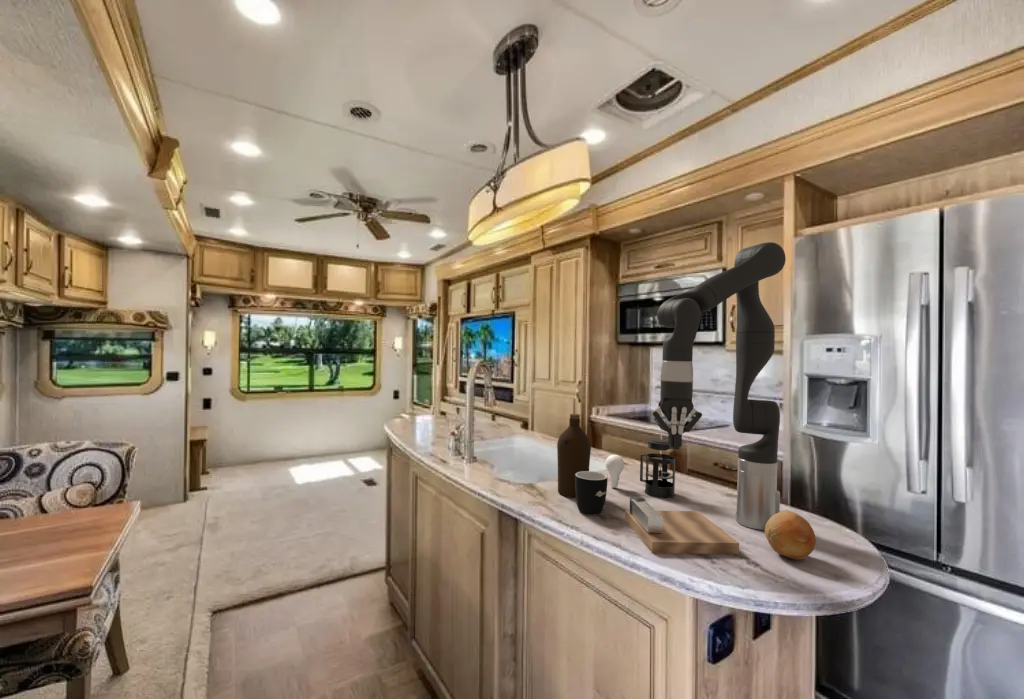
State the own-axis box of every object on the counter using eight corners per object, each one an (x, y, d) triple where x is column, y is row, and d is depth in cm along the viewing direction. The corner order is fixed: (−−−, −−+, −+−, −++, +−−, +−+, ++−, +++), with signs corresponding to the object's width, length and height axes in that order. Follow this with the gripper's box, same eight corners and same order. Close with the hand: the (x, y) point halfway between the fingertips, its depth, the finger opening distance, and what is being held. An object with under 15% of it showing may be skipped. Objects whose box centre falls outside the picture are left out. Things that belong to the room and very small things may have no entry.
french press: (681, 493, 143) (683, 422, 143) (671, 501, 135) (673, 426, 135) (645, 486, 150) (647, 418, 150) (634, 492, 142) (637, 421, 142)
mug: (596, 519, 118) (597, 481, 118) (568, 511, 124) (569, 475, 124) (617, 508, 127) (618, 473, 127) (590, 501, 133) (591, 467, 133)
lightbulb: (609, 484, 151) (610, 451, 151) (626, 487, 147) (627, 454, 147) (601, 487, 146) (602, 454, 146) (618, 492, 143) (619, 457, 143)
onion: (754, 551, 101) (755, 507, 102) (782, 544, 106) (783, 502, 106) (795, 570, 93) (797, 522, 93) (825, 562, 97) (826, 517, 97)
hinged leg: (627, 509, 118) (627, 496, 118) (642, 509, 118) (642, 496, 118) (646, 532, 103) (647, 517, 103) (663, 532, 103) (664, 517, 103)
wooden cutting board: (697, 520, 120) (697, 511, 120) (738, 554, 100) (739, 542, 100) (624, 519, 119) (625, 510, 119) (651, 553, 99) (652, 542, 99)
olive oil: (590, 499, 134) (593, 417, 134) (555, 497, 135) (558, 415, 135) (588, 488, 145) (590, 412, 145) (555, 487, 146) (558, 411, 146)
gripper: (656, 379, 106) (654, 452, 106) (710, 381, 106) (708, 452, 106) (645, 377, 113) (643, 445, 113) (695, 378, 114) (693, 445, 114)
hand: (674, 448), depth 110 cm, fingers closed
